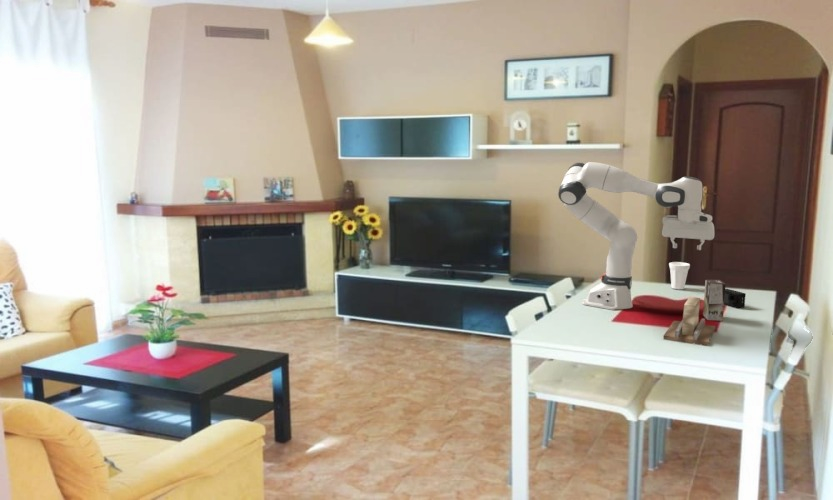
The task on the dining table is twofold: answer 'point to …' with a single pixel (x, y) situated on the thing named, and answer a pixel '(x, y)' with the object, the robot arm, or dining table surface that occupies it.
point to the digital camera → (734, 299)
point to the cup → (678, 274)
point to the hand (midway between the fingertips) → (686, 248)
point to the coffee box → (714, 300)
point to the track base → (699, 337)
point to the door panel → (690, 316)
